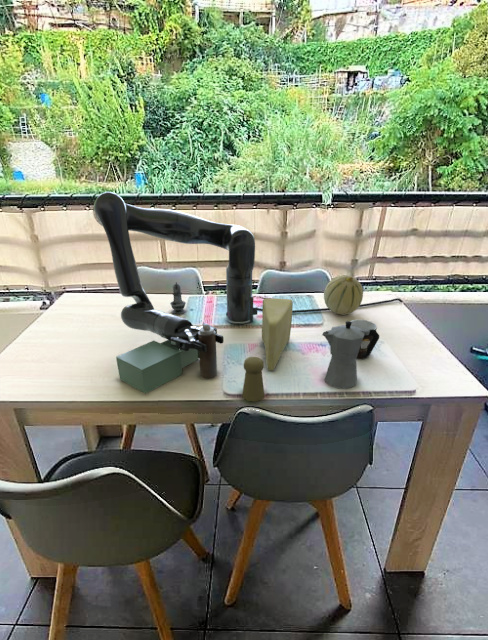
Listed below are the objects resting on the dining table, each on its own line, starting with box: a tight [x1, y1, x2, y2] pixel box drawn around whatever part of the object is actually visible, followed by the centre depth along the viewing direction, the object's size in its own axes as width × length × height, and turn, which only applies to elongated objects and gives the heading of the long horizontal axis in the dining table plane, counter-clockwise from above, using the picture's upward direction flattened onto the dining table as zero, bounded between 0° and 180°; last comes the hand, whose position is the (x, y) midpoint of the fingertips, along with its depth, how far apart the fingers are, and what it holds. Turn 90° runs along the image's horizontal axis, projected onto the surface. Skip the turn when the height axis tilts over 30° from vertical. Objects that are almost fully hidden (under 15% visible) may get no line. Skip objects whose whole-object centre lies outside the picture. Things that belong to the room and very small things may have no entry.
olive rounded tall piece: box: [241, 356, 265, 403], centre depth 109 cm, size 6×6×11 cm
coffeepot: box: [321, 320, 380, 389], centre depth 114 cm, size 15×9×18 cm, turn 92°
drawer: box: [160, 339, 200, 369], centre depth 126 cm, size 17×10×6 cm, turn 140°
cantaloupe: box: [323, 274, 364, 316], centre depth 158 cm, size 15×15×15 cm
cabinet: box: [115, 340, 183, 394], centre depth 118 cm, size 13×11×7 cm
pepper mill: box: [198, 323, 218, 380], centre depth 117 cm, size 5×5×16 cm
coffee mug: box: [350, 319, 378, 360], centre depth 130 cm, size 12×9×10 cm
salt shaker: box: [169, 281, 186, 315], centre depth 159 cm, size 6×6×12 cm
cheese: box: [261, 297, 294, 371], centre depth 128 cm, size 22×10×15 cm, turn 172°
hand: (214, 344), depth 114 cm, fingers open, 6 cm apart
